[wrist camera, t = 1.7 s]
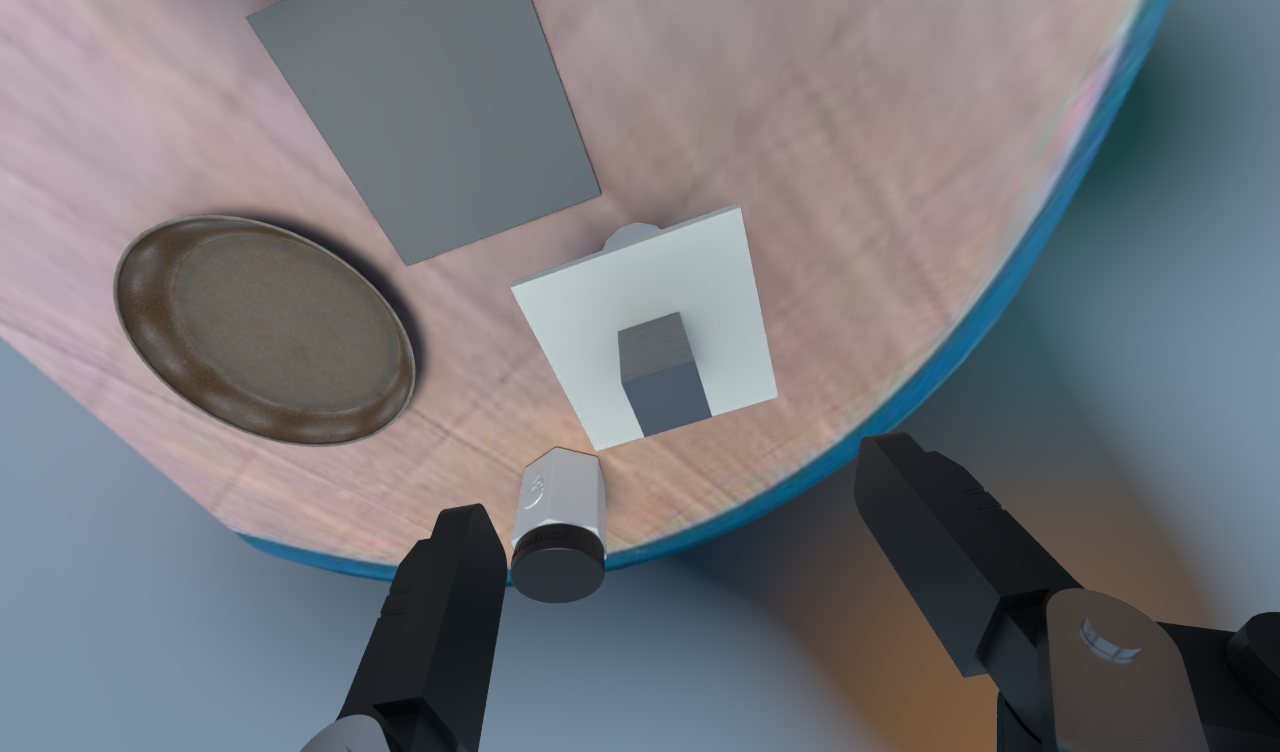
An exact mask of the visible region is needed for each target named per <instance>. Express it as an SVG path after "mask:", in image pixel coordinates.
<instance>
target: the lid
mask: <svg viewBox="0 0 1280 752" xmlns="http://www.w3.org/2000/svg"><path fill="white" fill-rule="evenodd" d="M510 288H511V290H512V292H513V294H514V296H515V298H516V300H517V301H518V303H519V305H520V307H521V309H522V311H523V313H524V315H525V317H526V319H527V321H528V322H529V324H530V326H531V328H532V330H533V332H534V334H535V336H536V338H537V340H538V341H539V343H540V345H541V347H542V349H543V351H544V353H545V355H546V357H547V359H548V361H549V362H550V364H551V366H552V368H553V370H554V372H555V374H556V376H557V378H558V380H559V381H560V383H561V385H562V387H563V389H564V391H565V393H566V395H567V397H568V399H569V401H570V402H571V404H572V406H573V408H574V410H575V412H576V414H577V416H578V418H579V420H580V421H581V423H582V425H583V427H584V429H585V431H586V433H587V435H588V437H589V439H590V441H591V442H592V444H593V446H594V448H595V450H596V451H599V450H602V449H605V448H609V447H612V446H615V445H619V444H622V443H625V442H629V441H632V440H635V439H639V438H642V437H647V436H651V435H654V434H657V433H661V432H664V431H667V430H671V429H674V428H677V427H681V426H684V425H687V424H691V423H694V422H697V421H701V420H704V419H707V418H711V417H712V416H716V415H719V414H722V413H726V412H729V411H732V410H736V409H739V408H742V407H746V406H749V405H752V404H756V403H759V402H763V401H766V400H769V399H773V398H776V397H778V394H777V389H776V384H775V379H774V374H773V369H772V364H771V359H770V354H769V349H768V344H767V339H766V334H765V329H764V324H763V319H762V314H761V309H760V304H759V299H758V294H757V289H756V284H755V279H754V274H753V268H752V263H751V258H750V253H749V248H748V243H747V238H746V233H745V228H744V223H743V218H742V213H741V208H740V207H739V206H738V205H737V204H733V205H730V206H727V207H724V208H721V209H719V210H716V211H713V212H710V213H707V214H704V215H701V216H699V217H696V218H693V219H690V220H687V221H684V222H681V223H679V224H676V225H673V226H670V227H667V228H664V229H662V230H659V231H656V232H653V233H650V234H647V235H644V236H642V237H639V238H636V239H633V240H630V241H627V242H625V243H622V244H619V245H616V246H613V247H610V248H607V249H605V250H602V251H599V252H596V253H593V254H590V255H588V256H585V257H582V258H579V259H576V260H573V261H570V262H568V263H565V264H562V265H559V266H556V267H553V268H550V269H548V270H545V271H542V272H539V273H536V274H533V275H531V276H528V277H525V278H522V279H519V280H516V281H513V282H512V285H511V287H510Z"/></svg>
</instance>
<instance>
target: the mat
mask: <svg viewBox="0 0 1280 752" xmlns="http://www.w3.org/2000/svg"><path fill="white" fill-rule="evenodd" d="M245 18H246V19H247V21H248V22H249V24H250V25H251V27H252V28H253V30H254V31H255V33H256V35H257V36H258V38H259V39H260V41H261V42H262V44H263V45H264V47H265V48H266V50H267V52H268V53H269V55H270V56H271V58H272V59H273V61H274V62H275V64H276V65H277V67H278V69H279V70H280V72H281V73H282V75H283V76H284V78H285V79H286V81H287V83H288V84H289V86H290V87H291V89H292V90H293V92H294V93H295V95H296V96H297V98H298V100H299V101H300V103H301V104H302V106H303V107H304V109H305V110H306V112H307V113H308V115H309V117H310V118H311V120H312V121H313V123H314V124H315V126H316V127H317V129H318V130H319V132H320V134H321V135H322V137H323V138H324V140H325V141H326V143H327V144H328V146H329V147H330V149H331V151H332V152H333V154H334V155H335V157H336V158H337V160H338V161H339V163H340V164H341V166H342V168H343V169H344V171H345V172H346V174H347V175H348V177H349V178H350V180H351V182H352V183H353V185H354V186H355V188H356V189H357V191H358V192H359V194H360V195H361V197H362V199H363V200H364V202H365V203H366V205H367V206H368V208H369V209H370V211H371V212H372V214H373V216H374V217H375V219H376V220H377V222H378V223H379V225H380V226H381V228H382V229H383V231H384V233H385V234H386V236H387V237H388V239H389V240H390V242H391V243H392V245H393V246H394V248H395V250H396V251H397V253H398V254H399V256H400V257H401V259H402V260H403V262H404V263H405V265H406V266H409V265H411V264H414V263H417V262H420V261H422V260H425V259H428V258H430V257H433V256H436V255H439V254H441V253H444V252H447V251H449V250H452V249H455V248H458V247H460V246H463V245H466V244H468V243H471V242H474V241H477V240H479V239H482V238H485V237H487V236H490V235H493V234H496V233H498V232H501V231H504V230H506V229H509V228H512V227H515V226H517V225H520V224H523V223H525V222H528V221H531V220H534V219H536V218H539V217H542V216H545V215H547V214H550V213H553V212H555V211H558V210H561V209H564V208H566V207H569V206H572V205H574V204H577V203H580V202H583V201H585V200H588V199H591V198H593V197H596V196H599V195H601V191H600V188H599V185H598V182H597V180H596V177H595V174H594V171H593V168H592V166H591V163H590V160H589V157H588V155H587V152H586V149H585V146H584V144H583V141H582V138H581V135H580V132H579V130H578V127H577V124H576V121H575V119H574V116H573V113H572V110H571V108H570V105H569V102H568V99H567V96H566V94H565V91H564V88H563V85H562V83H561V80H560V77H559V74H558V72H557V69H556V66H555V63H554V60H553V58H552V55H551V52H550V49H549V47H548V44H547V41H546V38H545V36H544V33H543V30H542V27H541V24H540V22H539V19H538V16H537V13H536V11H535V8H534V5H533V2H532V0H282V1H280V2H278V3H276V4H273V5H271V6H269V7H267V8H265V9H262V10H260V11H258V12H256V13H254V14H252V15H249V16H247V17H245Z"/></svg>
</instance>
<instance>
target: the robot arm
mask: <svg viewBox="0 0 1280 752" xmlns="http://www.w3.org/2000/svg"><path fill="white" fill-rule="evenodd" d="M854 496H855V501H856V505H857V507H858V510H859V513H860V515H861V517H862V518H863V520H864V522H865V523H866V525H867V526H868V528H869V529H870V531H871V533H872V534H873V536H874V537H875V539H876V541H877V542H878V544H879V545H880V547H881V548H882V550H883V551H884V553H885V555H886V556H887V558H888V559H889V561H890V563H891V564H892V566H893V567H894V569H895V570H896V572H897V574H898V575H899V577H900V578H901V579H902V581H903V583H904V584H905V586H906V588H907V589H908V591H909V592H910V594H911V595H912V597H913V598H914V600H915V602H916V603H917V605H918V607H919V608H920V610H921V611H922V613H923V614H924V616H925V617H926V619H927V621H928V622H929V624H930V625H931V627H932V628H933V630H934V632H935V633H936V635H937V636H938V638H939V639H940V641H941V642H942V644H943V646H944V647H945V649H946V650H947V652H948V654H949V655H950V657H951V658H952V660H953V661H954V663H955V665H956V666H957V668H958V669H959V671H960V672H961V674H962V676H963V677H964V678H965V677H971V676H976V675H982V674H989V675H990V676H991V678H992V679H993V681H994V682H995V684H996V685H997V687H998V688H999V692H998V695H997V752H1280V612H1266V613H1261V614H1257V615H1256V616H1254V617H1252V618H1251V619H1250V620H1249V621H1248V622H1247V623H1246V624H1245V625H1244V626H1243V627H1242V628H1241V629H1240V630H1239V631H1238V632H1230V631H1221V630H1215V629H1207V628H1200V627H1192V626H1184V625H1177V624H1169V623H1163V622H1156V621H1154V620H1153V619H1151V618H1150V617H1149V616H1148V615H1146V614H1145V613H1143V612H1142V611H1140V610H1139V609H1137V608H1136V607H1134V606H1132V605H1130V604H1128V603H1127V602H1125V601H1123V600H1120V599H1118V598H1116V597H1114V596H1111V595H1108V594H1105V593H1102V592H1098V591H1095V590H1089V589H1085V588H1084V587H1083V586H1081V585H1080V584H1079V583H1078V582H1077V581H1076V580H1075V579H1074V578H1073V577H1072V576H1070V574H1069V573H1068V572H1067V571H1066V570H1065V569H1064V568H1063V567H1062V566H1061V565H1060V564H1059V563H1058V562H1057V561H1056V560H1055V559H1054V558H1053V557H1052V556H1051V555H1050V554H1049V553H1048V552H1047V551H1046V550H1045V549H1044V548H1043V547H1042V546H1041V545H1040V544H1039V543H1038V542H1037V541H1036V540H1035V539H1034V538H1033V537H1032V536H1031V535H1030V534H1029V533H1028V532H1027V531H1026V530H1025V529H1024V528H1023V527H1022V526H1021V525H1020V524H1019V523H1018V522H1017V521H1016V520H1015V519H1014V518H1013V517H1012V516H1011V515H1010V514H1009V513H1008V512H1007V511H1006V510H1003V509H1002V508H1001V505H1000V504H999V503H998V502H997V501H996V500H995V499H994V498H993V497H992V495H991V494H989V492H985V491H984V488H983V486H982V485H981V484H979V482H978V481H977V480H975V478H974V477H973V476H972V475H971V474H969V472H968V471H967V470H966V469H965V468H964V467H963V466H961V465H959V464H957V463H956V462H953V461H952V460H950V459H949V458H947V457H945V456H944V455H942V454H940V453H938V452H937V451H932V452H927V453H925V451H924V450H922V448H921V447H920V446H919V445H918V444H917V443H916V442H915V441H914V440H913V439H912V438H911V436H910V435H908V434H907V433H906V432H904V431H895V432H889V433H883V434H878V435H872V436H866V437H864V438H863V439H862V440H861V443H860V449H859V456H858V463H857V470H856V478H855V485H854ZM506 581H507V559H506V554H505V551H504V548H503V546H502V544H501V541H500V539H499V537H498V535H497V533H496V531H495V529H494V527H493V524H492V522H491V520H490V518H489V516H488V514H487V512H486V510H485V508H484V506H483V505H482V504H480V503H478V504H472V505H467V506H461V507H455V508H450V509H444V510H442V511H441V512H440V514H439V516H438V518H437V521H436V524H435V527H434V529H433V532H432V535H431V538H429V539H424V540H418V542H417V543H416V544H415V545H414V547H413V548H412V549H411V551H410V552H409V553H408V554H407V556H406V557H405V558H404V559H403V561H402V562H401V563H400V564H399V567H398V569H397V572H396V574H395V577H394V580H393V582H392V585H391V588H390V590H389V591H390V594H389V596H387V597H386V600H385V602H384V605H383V607H382V610H381V612H380V613H381V617H380V618H378V620H377V622H376V625H375V627H374V630H373V632H372V635H371V637H370V640H369V642H368V645H367V647H366V650H365V652H364V655H363V657H362V660H361V662H360V665H359V668H358V670H357V673H356V675H355V678H354V680H353V683H352V685H351V688H350V690H349V693H348V695H347V698H346V700H345V703H344V705H343V707H342V710H341V712H340V714H339V716H338V717H337V719H336V721H335V722H334V723H332V724H330V725H329V726H327V727H326V728H324V729H323V730H321V731H320V732H319V733H318V734H317V735H315V736H314V737H313V738H312V739H311V740H310V741H309V742H308V743H307V744H306V745H305V746H304V747H303V749H302V750H301V751H300V752H478V748H479V742H480V736H481V730H482V724H483V718H484V712H485V706H486V700H487V694H488V688H489V682H490V676H491V670H492V664H493V658H494V652H495V646H496V640H497V635H498V628H499V623H500V617H501V611H502V605H503V599H504V593H505V587H506Z"/></svg>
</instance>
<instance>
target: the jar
mask: <svg viewBox="0 0 1280 752" xmlns="http://www.w3.org/2000/svg"><path fill="white" fill-rule="evenodd" d="M511 543H512V546H513V548H514V554H513V556H512V562H511V573H510V576H511V581H512V583H513V585H514V587H515V588H516V589H517V590H518V591H519V592H520V593H522V594H523V595H525V596H526V597H528V598H531V599H533V600H537V601H541V602H546V603H568V602H573V601H577V600H580V599H583V598H585V597H587V596H589V595H591V594H592V593H594V592H595V591H596V590H597V589H598V588H599V587H600V586H601V584H602V582H603V580H604V576H605V560H606V558H607V551H606V489H605V483H604V479H603V476H602V472H601V468H600V465H599V461H598V458H597V457H596V456H591V455H587V454H583V453H579V452H574V451H570V450H566V449H562V448H557V447H555V448H554V449H552V450H551V451H549V452H548V453H547V454H545V455H544V456H542V457H541V458H539V459H538V460H536V461H535V462H534V463H532V464H531V465H529V466H528V467H526V468H525V470H524V475H523V480H522V486H521V491H520V497H519V502H518V507H517V513H516V518H515V524H514V529H513V534H512V540H511Z"/></svg>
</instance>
